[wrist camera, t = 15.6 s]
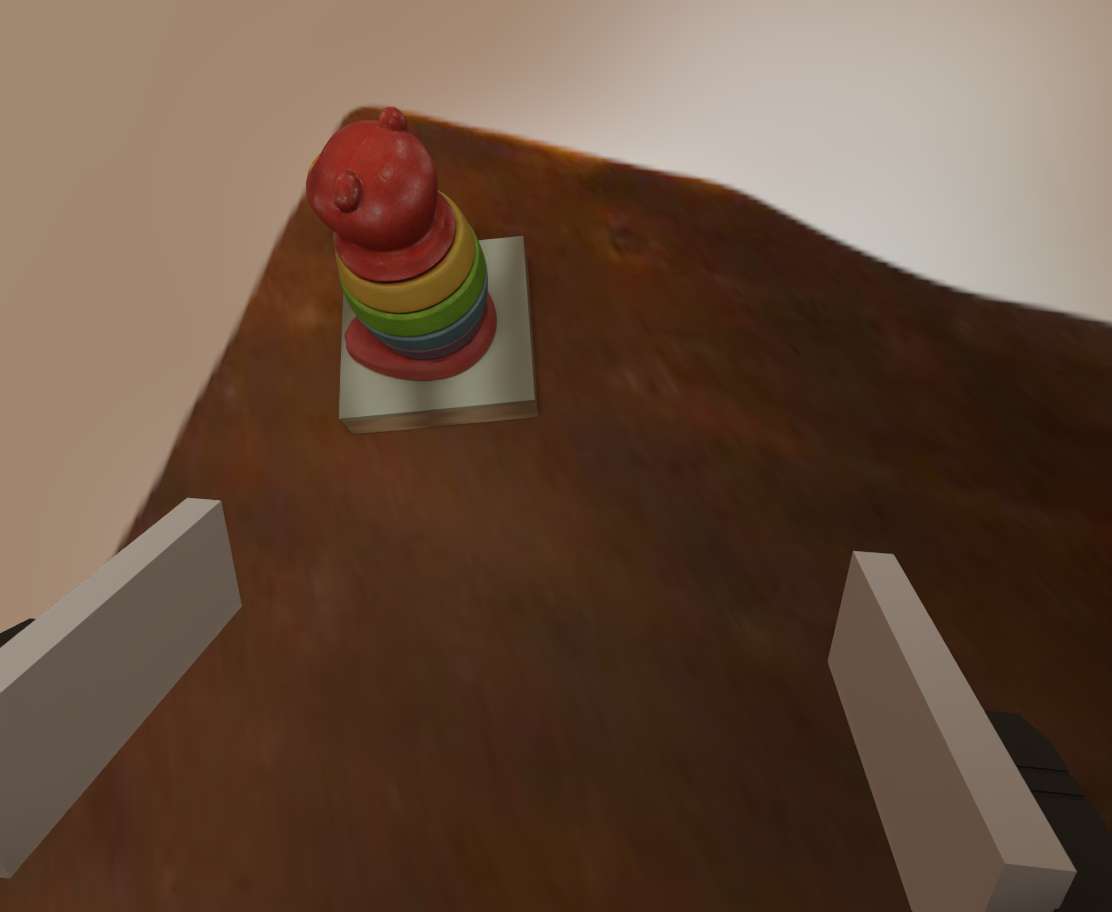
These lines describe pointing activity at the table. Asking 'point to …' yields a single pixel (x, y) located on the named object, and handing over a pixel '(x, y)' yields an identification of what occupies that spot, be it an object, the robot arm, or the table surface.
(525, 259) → the plinth
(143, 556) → the robot arm
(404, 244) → the stacking bear
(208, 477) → the table surface
